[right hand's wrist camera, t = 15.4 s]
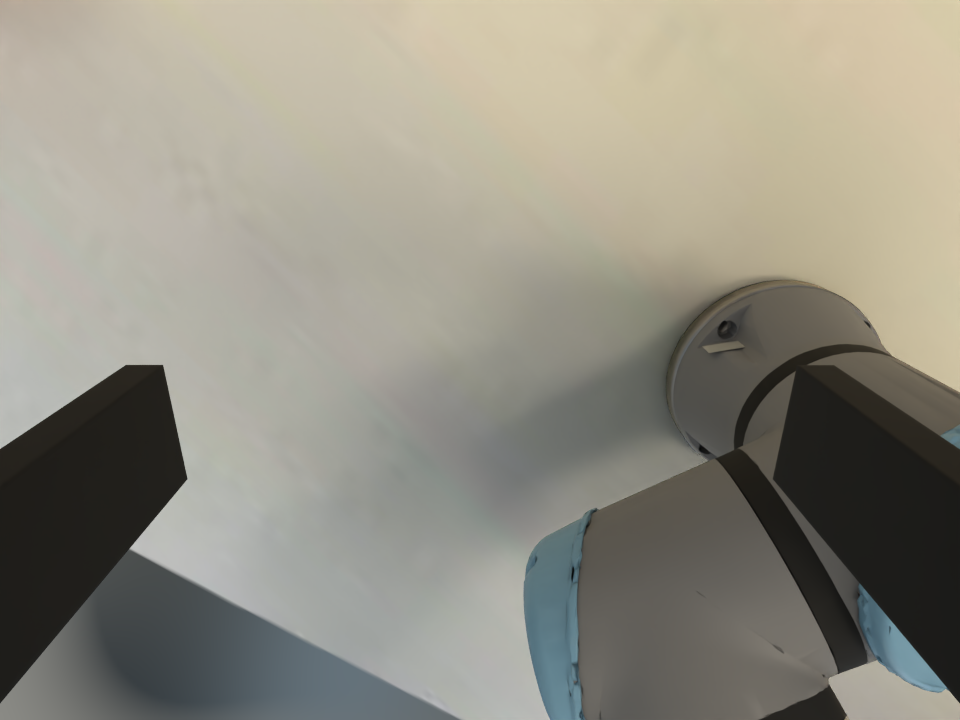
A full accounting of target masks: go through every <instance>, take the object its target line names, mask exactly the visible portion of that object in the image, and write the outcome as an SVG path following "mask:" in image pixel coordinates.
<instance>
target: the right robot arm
mask: <svg viewBox="0 0 960 720" xmlns="http://www.w3.org/2000/svg"><path fill="white" fill-rule="evenodd" d="M666 395H667V402H668V406H669V410H670V413H671V416H672V418H673V420H674V422H675V424H676V426H677V427H678V429H679V430H680V432H681V433H682V435H683V436H684V438H685V439H686V441H687V442H688V443H689V445H690V446H691V447H692V448H693V449H694V450H695V451H696V452H697V453H699V454H700V455H701V456H702V457H704V458H705V459H707V460H708V462H706V463H703V464H701V465H699V466H697V467H694V468H692V469H690V470H688V471H685V472H683V473H681V474H679V475H676V476H674V477H672V478H670V479H667V480H665V481H663V482H661V483H659V484H656V485H654V486H652V487H650V488H647V489H645V490H643V491H641V492H638V493H636V494H634V495H632V496H629V497H627V498H625V499H623V500H620V501H618V502H616V503H614V504H611V505H609V506H607V507H605V508H603V509H600V510H599V509H597V508H595V509H591V510H589V511H588V512H586V513H585V514H584V516H583V517H582V518H581V519H579V520H577V521H575V522H573V523H571V524H569V525H567V526H565V527H564V528H562V529H560V530H558V531H556V532H554V533H552V534H550V535H548V536H546V537H545V538H543V539H542V540H541V541H540V542H539V543H538V544H537V545H536V547H535V548H534V549H533V551H532V553H531V555H530V557H529V560H528V563H527V567H526V574H525V581H524V613H525V623H526V631H527V638H528V644H529V649H530V654H531V659H532V663H533V667H534V672H535V675H536V679H537V683H538V686H539V690H540V693H541V696H542V700H543V703H544V706H545V708H546V711H547V713H548V716H549V718H550V720H849V718H848V716H847V714H846V713H845V711H844V710H843V708H842V706H841V704H840V703H839V701H838V699H837V697H836V696H835V694H834V692H833V690H832V689H831V687H830V685H829V683H828V679H829V677H832V676H834V675H836V674H839V673H842V672H844V671H847V670H850V669H853V668H855V667H858V666H861V665H864V664H868V663H870V662H873V661H875V660H878V662H879V663H881V664H882V665H884V666H885V667H886V668H887V669H888V671H890V672H892V673H894V674H896V675H897V676H899V677H901V678H902V679H903V680H904V681H906V682H908V683H910V684H912V685H913V686H916V687H919V688H921V689H923V690H927V691H931V692H937V693H939V692H942V691H943V690H945V689H947V690H949V691H950V692H951V693H952V694H953V696H954V697H955V698H956V699H957V700H958V702H959V703H960V393H959V392H958V391H956V390H954V389H952V388H950V387H948V386H947V385H945V384H943V383H941V382H939V381H937V380H935V379H934V378H932V377H930V376H928V375H926V374H924V373H922V372H921V371H919V370H917V369H915V368H913V367H911V366H910V365H908V364H906V363H904V362H902V361H900V360H898V359H896V358H894V357H893V356H891V355H890V353H889V352H888V351H887V350H886V349H885V348H884V346H883V345H882V344H881V341H880V339H879V337H878V335H877V333H876V331H875V329H874V328H873V326H872V325H871V323H870V322H869V321H868V319H867V318H866V317H865V316H864V315H863V313H862V312H861V311H860V310H859V309H858V308H857V307H855V306H854V305H853V304H852V303H851V302H849V301H848V300H846V299H845V298H843V297H841V296H839V295H837V294H835V293H833V292H831V291H828V290H826V289H824V288H822V287H819V286H816V285H814V284H810V283H806V282H800V281H790V280H779V281H769V282H763V283H758V284H754V285H751V286H748V287H745V288H742V289H740V290H737V291H735V292H733V293H731V294H729V295H727V296H725V297H723V298H722V299H720V300H719V301H717V302H716V303H714V304H713V305H711V306H710V307H709V308H708V309H706V310H705V311H704V312H703V313H702V314H701V315H700V316H699V317H697V319H696V320H695V321H694V322H693V323H692V324H691V325H690V326H689V328H688V329H687V330H686V332H685V333H684V335H683V336H682V338H681V339H680V341H679V343H678V345H677V347H676V348H675V350H674V353H673V355H672V358H671V361H670V364H669V368H668V373H667V381H666ZM186 480H187V475H186V470H185V466H184V461H183V456H182V452H181V447H180V442H179V438H178V433H177V428H176V424H175V419H174V414H173V409H172V405H171V400H170V395H169V391H168V386H167V381H166V377H165V372H164V367H163V365H125V366H124V367H122V368H121V369H119V370H118V371H116V372H115V373H113V374H112V375H110V376H109V377H107V378H106V379H104V380H103V381H101V382H100V383H98V384H97V385H95V386H94V387H92V388H91V389H89V390H88V391H86V392H85V393H83V394H82V395H80V396H79V397H77V398H76V399H74V400H73V401H72V402H70V403H69V404H67V405H66V406H64V407H63V408H61V409H60V410H58V411H57V412H55V413H54V414H52V415H51V416H49V417H48V418H46V419H45V420H43V421H42V422H40V423H39V424H37V425H36V426H34V427H33V428H31V429H30V430H28V431H27V432H25V433H24V434H22V435H21V436H19V437H18V438H16V439H15V440H13V441H12V442H10V443H9V444H7V445H6V446H4V447H3V448H1V449H0V703H1V702H2V700H3V699H4V698H5V697H6V696H7V694H8V693H9V692H10V691H11V690H12V688H13V687H14V686H15V685H16V684H17V683H18V681H19V680H20V679H21V678H22V677H23V675H24V674H25V673H26V672H27V671H28V669H29V668H30V667H31V666H32V665H33V663H34V662H35V661H36V660H37V659H38V657H39V656H40V655H41V654H42V652H43V651H44V650H45V649H46V648H47V646H48V645H49V644H50V643H51V642H52V641H53V639H54V638H55V637H56V636H57V635H58V633H59V632H60V631H61V630H62V629H63V627H64V626H65V625H66V624H67V623H68V621H69V620H70V619H71V618H72V617H73V615H74V614H75V613H76V612H77V611H78V609H79V608H80V607H81V606H82V605H83V603H84V602H85V601H86V600H87V599H88V597H89V596H90V595H91V594H92V593H93V591H94V590H95V589H96V588H97V587H98V586H99V584H100V583H101V582H102V581H103V580H104V578H105V577H106V576H107V575H108V574H109V572H110V571H111V570H112V569H113V568H114V566H115V565H116V564H117V563H118V561H119V560H120V559H121V558H122V557H123V555H124V554H125V553H126V552H127V551H128V550H129V548H130V547H131V546H132V545H133V544H134V542H135V541H136V540H137V539H138V538H139V536H140V535H141V534H142V533H143V532H144V530H145V529H146V528H147V527H148V526H149V524H150V523H151V522H152V521H153V520H154V518H155V517H156V516H157V515H158V514H159V512H160V511H161V510H162V509H163V508H164V506H165V505H166V504H167V503H168V502H169V500H170V499H171V498H172V497H173V496H174V494H175V493H176V492H177V491H178V490H179V488H180V487H181V486H182V485H183V484H184V483H185V481H186Z"/></svg>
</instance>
